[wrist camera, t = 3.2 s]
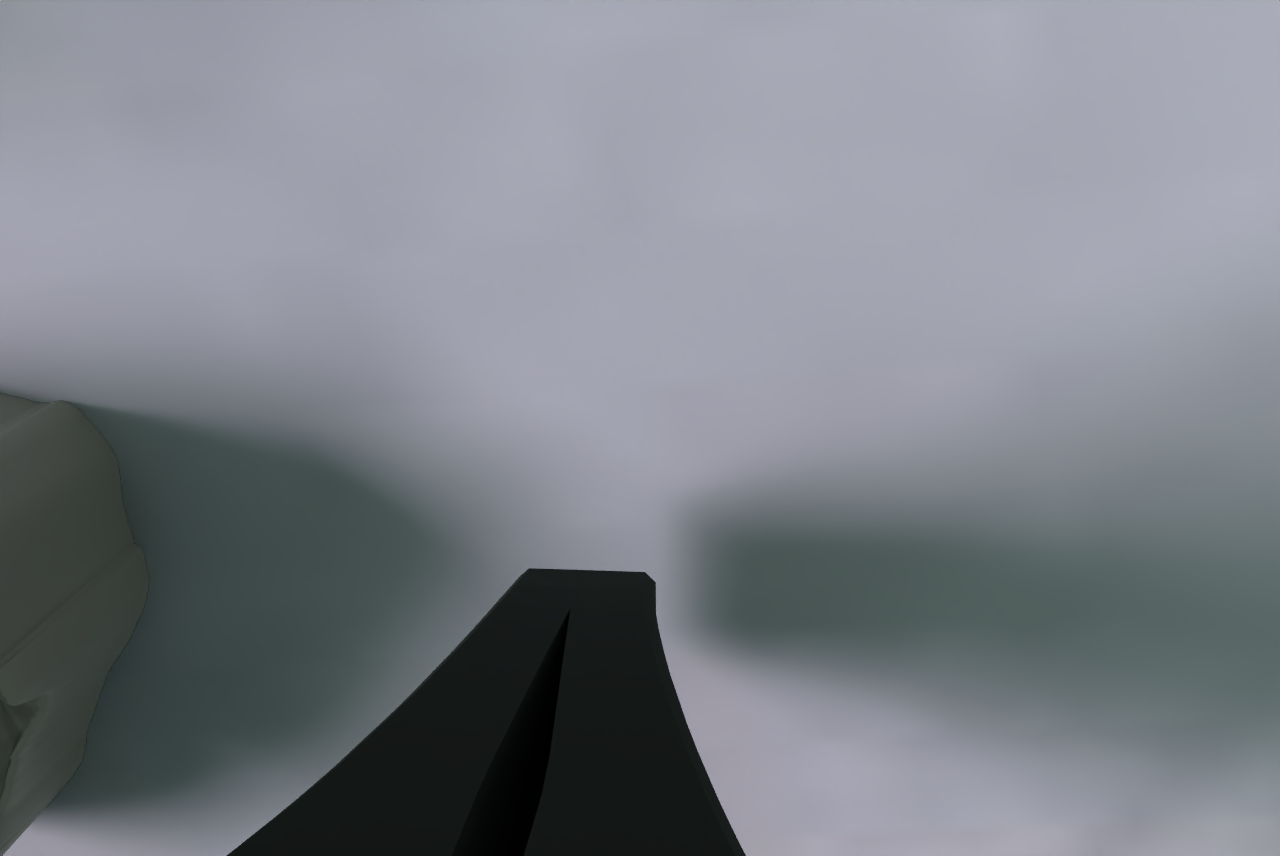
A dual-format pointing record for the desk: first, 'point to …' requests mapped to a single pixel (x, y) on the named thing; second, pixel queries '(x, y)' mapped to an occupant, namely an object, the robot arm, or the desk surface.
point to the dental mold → (57, 597)
